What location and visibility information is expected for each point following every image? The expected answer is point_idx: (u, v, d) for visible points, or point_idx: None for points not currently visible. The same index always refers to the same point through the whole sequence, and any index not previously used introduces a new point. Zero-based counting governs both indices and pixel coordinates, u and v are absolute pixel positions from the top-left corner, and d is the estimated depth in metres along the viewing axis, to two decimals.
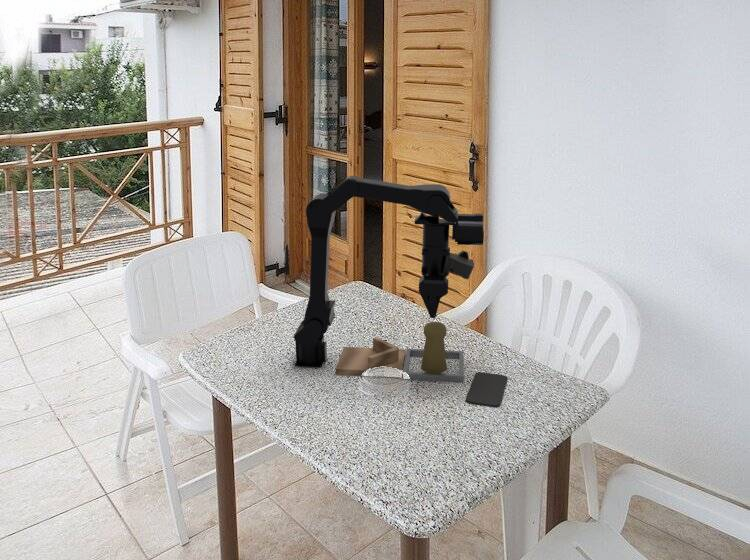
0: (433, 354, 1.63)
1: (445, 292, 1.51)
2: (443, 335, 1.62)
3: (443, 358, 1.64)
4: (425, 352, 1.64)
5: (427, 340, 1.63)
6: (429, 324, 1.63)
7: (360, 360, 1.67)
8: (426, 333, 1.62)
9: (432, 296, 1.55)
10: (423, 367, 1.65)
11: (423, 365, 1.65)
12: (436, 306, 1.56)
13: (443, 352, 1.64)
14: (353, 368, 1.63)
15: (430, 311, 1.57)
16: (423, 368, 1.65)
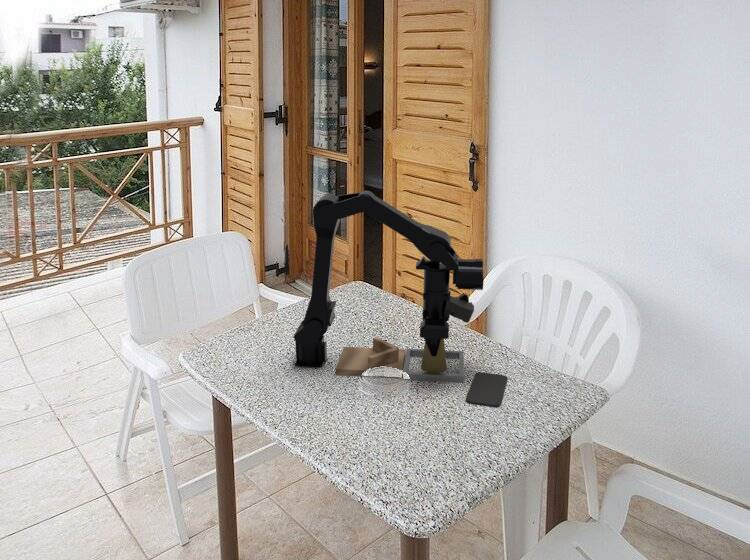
0: None
1: (446, 337, 1.54)
2: None
3: (443, 358, 1.64)
4: (425, 352, 1.64)
5: None
6: None
7: (360, 360, 1.67)
8: None
9: None
10: (423, 367, 1.65)
11: (423, 365, 1.65)
12: (437, 345, 1.61)
13: (443, 352, 1.64)
14: (353, 368, 1.63)
15: (431, 350, 1.62)
16: (423, 368, 1.65)
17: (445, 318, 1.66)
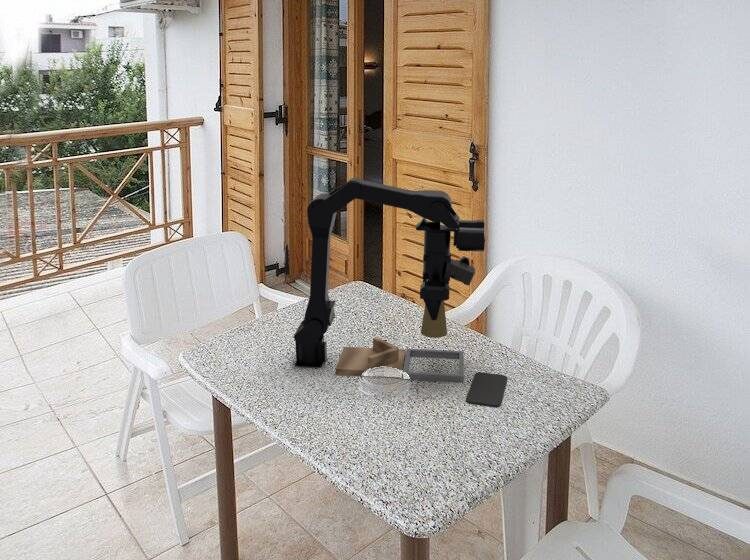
0: None
1: (446, 298, 1.51)
2: None
3: (443, 322, 1.61)
4: (425, 316, 1.61)
5: None
6: None
7: (360, 360, 1.67)
8: None
9: None
10: (423, 331, 1.62)
11: (423, 329, 1.62)
12: (437, 308, 1.58)
13: (443, 316, 1.61)
14: (353, 368, 1.63)
15: (431, 313, 1.59)
16: (423, 332, 1.62)
17: (445, 282, 1.63)
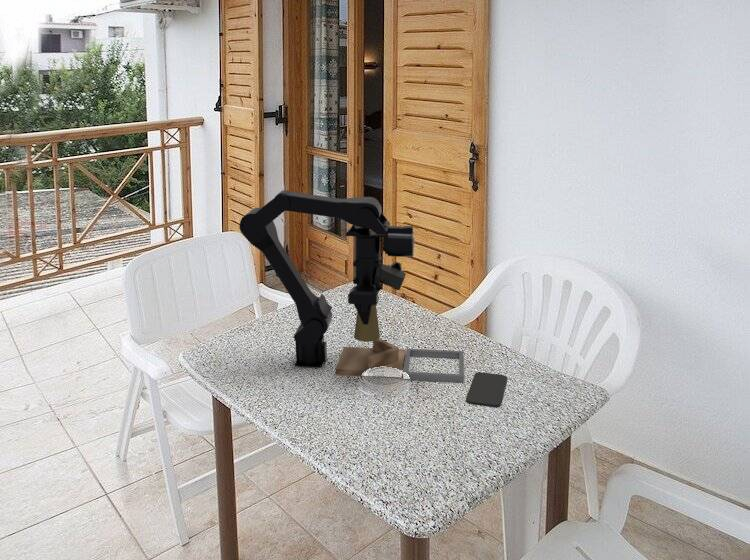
0: None
1: (373, 303, 1.53)
2: None
3: (375, 326, 1.63)
4: (357, 320, 1.63)
5: None
6: None
7: (360, 360, 1.67)
8: None
9: None
10: (355, 335, 1.64)
11: (355, 333, 1.64)
12: (368, 313, 1.60)
13: (375, 320, 1.63)
14: (353, 368, 1.63)
15: (362, 318, 1.61)
16: (355, 336, 1.64)
17: (378, 287, 1.65)
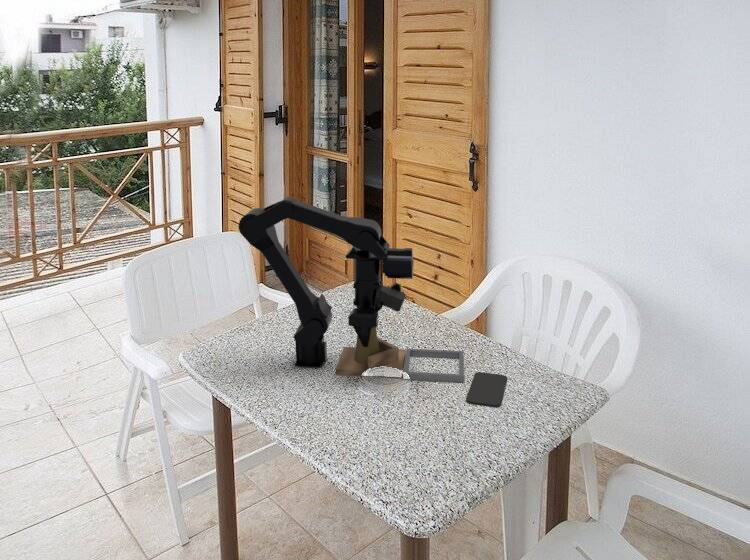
0: None
1: (374, 325, 1.55)
2: None
3: (375, 349, 1.65)
4: (357, 343, 1.65)
5: None
6: None
7: None
8: None
9: (364, 326, 1.60)
10: (356, 358, 1.66)
11: (356, 356, 1.66)
12: (368, 336, 1.61)
13: (375, 343, 1.65)
14: (353, 368, 1.63)
15: (362, 340, 1.62)
16: (356, 359, 1.66)
17: None
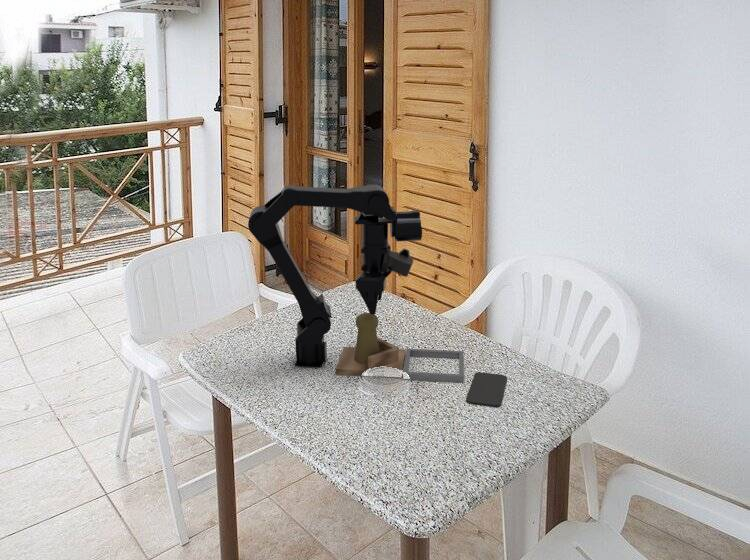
0: (364, 345, 1.64)
1: (381, 289, 1.55)
2: (374, 326, 1.63)
3: (375, 349, 1.65)
4: (357, 343, 1.65)
5: (359, 331, 1.64)
6: (361, 315, 1.64)
7: None
8: (357, 324, 1.63)
9: (371, 293, 1.60)
10: (356, 358, 1.66)
11: (356, 356, 1.66)
12: (375, 303, 1.60)
13: (375, 343, 1.65)
14: (353, 368, 1.63)
15: (369, 307, 1.61)
16: (356, 359, 1.66)
17: (388, 271, 1.70)
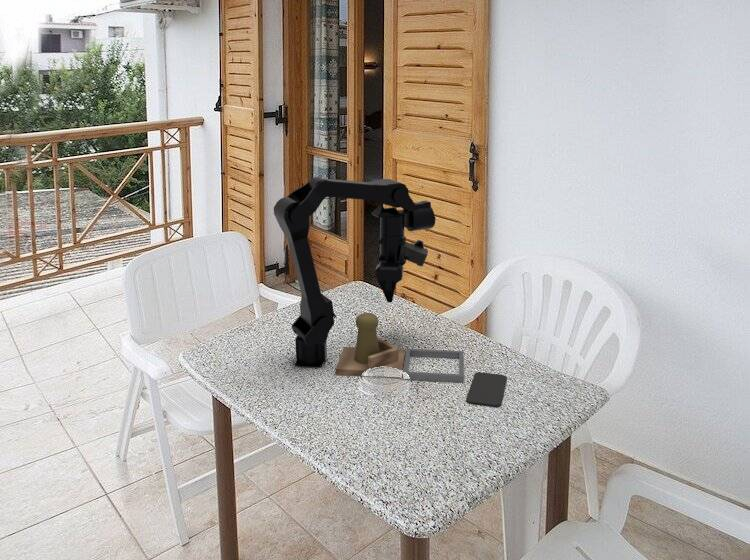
0: (364, 345, 1.64)
1: (399, 278, 1.63)
2: (374, 326, 1.63)
3: (375, 349, 1.65)
4: (357, 343, 1.65)
5: (359, 331, 1.64)
6: (361, 315, 1.64)
7: None
8: (358, 324, 1.63)
9: (388, 282, 1.68)
10: (356, 358, 1.66)
11: (356, 356, 1.66)
12: (392, 291, 1.68)
13: (375, 343, 1.65)
14: (353, 368, 1.63)
15: (387, 296, 1.69)
16: (356, 359, 1.66)
17: (402, 261, 1.78)
